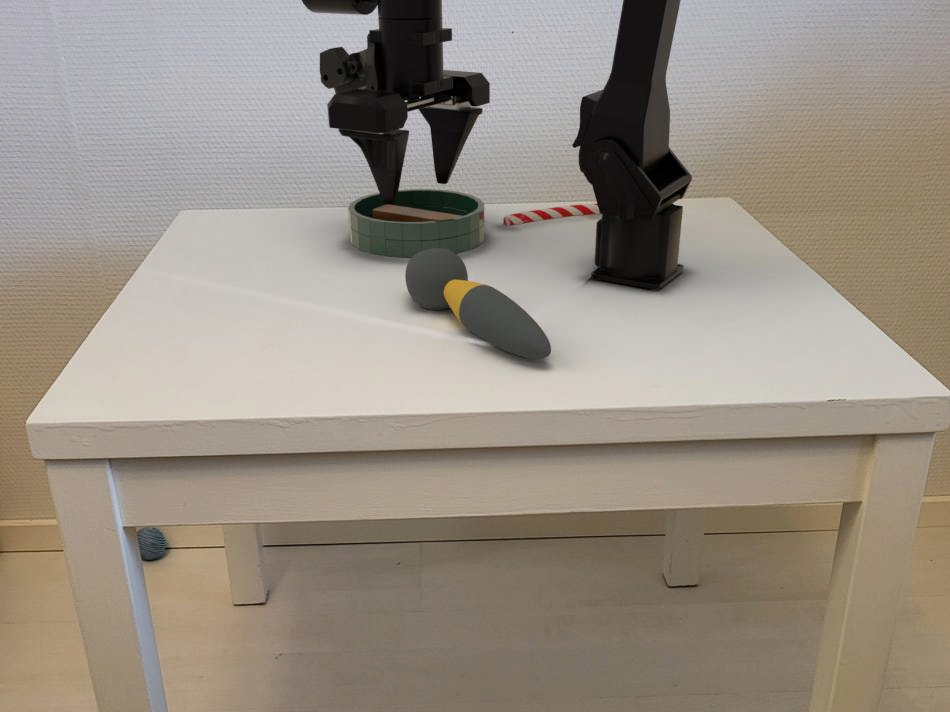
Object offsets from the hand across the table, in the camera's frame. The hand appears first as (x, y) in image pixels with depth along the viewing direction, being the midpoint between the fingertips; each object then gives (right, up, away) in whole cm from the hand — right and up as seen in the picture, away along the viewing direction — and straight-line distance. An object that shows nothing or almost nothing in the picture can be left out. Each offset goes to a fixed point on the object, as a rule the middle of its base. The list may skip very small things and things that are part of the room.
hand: (416, 193), depth 96 cm
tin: (0, -4, +2) cm, 5 cm away
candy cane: (+16, -2, +7) cm, 18 cm away
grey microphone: (+6, -16, -18) cm, 24 cm away
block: (0, -4, +2) cm, 4 cm away
